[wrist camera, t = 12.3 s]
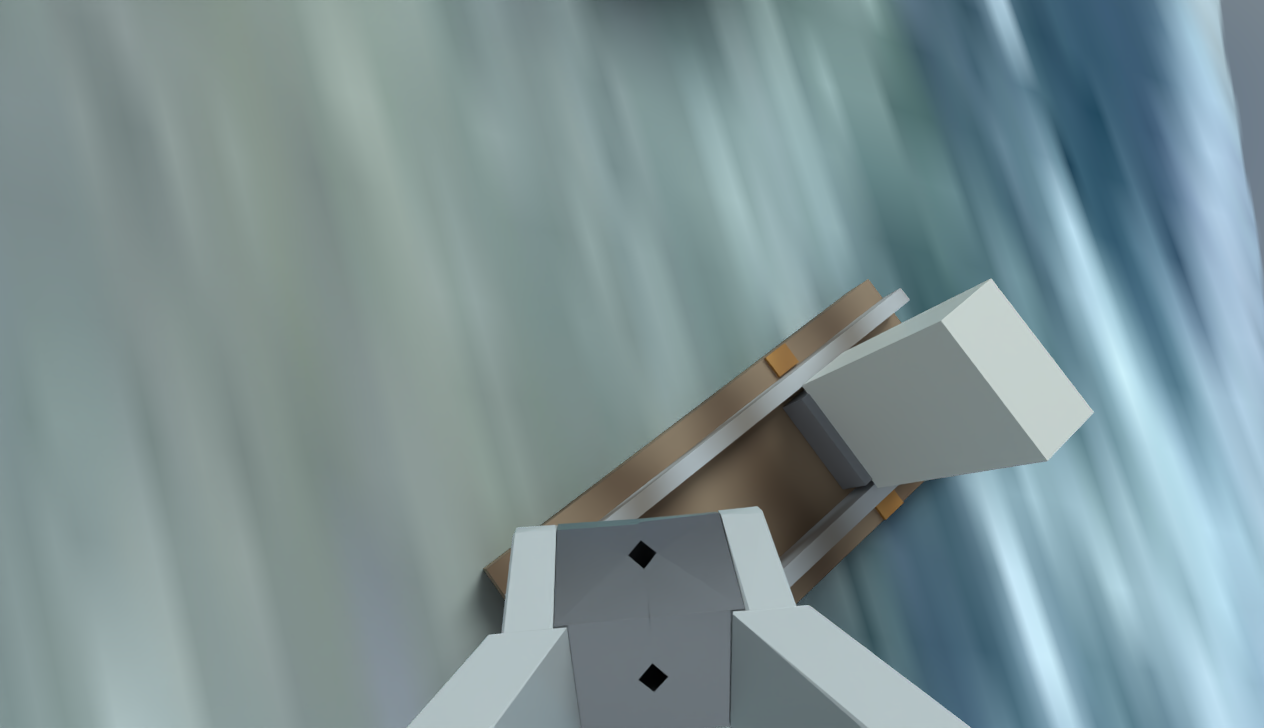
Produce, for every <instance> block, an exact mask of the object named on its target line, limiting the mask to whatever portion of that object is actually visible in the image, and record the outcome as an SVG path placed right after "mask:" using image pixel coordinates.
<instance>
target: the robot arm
mask: <svg viewBox="0 0 1264 728" xmlns="http://www.w3.org/2000/svg"><path fill="white" fill-rule="evenodd" d="M715 727H730V728H971V727H969V726H968V725H967V724H965V723H964V722H963V721H961V720H960V719H959V718H958V717H956V716H955V715H954V714H952V713H951V712H950V711H948V710H947V709H946V708H944V707H943V706H942V705H940V704H939V703H938V702H936V701H935V700H934V699H932V698H931V697H930V696H929V695H927V694H926V693H925V692H923V691H922V690H921V689H919V688H918V687H917V686H915V685H914V684H913V683H911V682H910V681H909V680H907V679H906V678H905V677H903V676H902V675H901V674H900V673H898V672H897V671H896V670H894V669H893V668H892V667H890V666H889V665H888V664H886V663H885V662H884V661H882V660H881V659H880V658H878V657H877V656H876V655H874V654H873V653H872V652H870V651H869V650H868V649H867V648H865V647H864V646H863V645H861V644H860V643H859V642H857V641H856V640H855V639H853V638H852V637H851V636H849V635H848V634H847V633H845V632H844V631H843V630H841V629H840V628H839V627H838V626H836V625H835V624H834V623H832V622H831V621H830V620H828V619H827V618H826V617H824V616H823V615H822V614H820V613H819V612H818V611H816V610H815V609H814V608H812V607H811V606H810V605H803V606H796V603H795V601H794V598H793V595H792V592H791V589H790V587H789V584H788V581H787V578H786V575H785V573H784V570H783V567H782V564H781V561H780V559H779V556H778V553H777V550H776V547H775V545H774V542H773V539H772V536H771V533H770V531H769V528H768V525H767V522H766V519H765V517H764V514H763V511H762V510H761V509H760V508H759V507H758V506H755V507H746V508H736V509H727V510H718V512H706V513H695V514H685V515H674V516H664V517H653V518H642V519H627V520H612V521H596V522H581V523H565V524H558V526H557V525H545V526H530V527H517V528H516V530H515V532H514V534H513V537H512V545H511V554H510V563H509V571H508V580H507V588H506V597H505V606H504V614H503V623H502V632H501V633H500V634H491V635H488V636H487V637H486V638H485V639H484V640H483V641H482V642H481V644H480V645H479V646H478V647H477V648H476V649H475V650H474V652H473V653H472V654H471V655H470V656H469V657H468V658H467V660H466V661H465V662H464V663H463V664H462V665H461V666H460V667H459V669H458V670H457V671H456V672H455V673H454V674H453V675H452V677H451V678H450V679H449V680H448V681H447V682H446V683H445V685H444V686H443V687H442V688H441V689H440V690H439V691H438V692H437V694H436V695H435V696H434V697H433V698H432V699H431V700H430V702H429V703H428V704H427V705H426V706H425V707H424V708H423V710H422V711H421V712H420V713H419V714H418V715H417V716H416V717H415V719H414V720H413V721H412V722H411V723H410V724H409V725H408V727H407V728H715Z"/></svg>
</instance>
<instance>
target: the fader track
mask: <svg viewBox="0 0 1264 728" xmlns="http://www.w3.org/2000/svg"><path fill="white" fill-rule="evenodd" d="M908 301H909V298H908V297H907V296H906V294H905V293H904V292H903V290H902V289H901V288H900V289H898V290H896V291H894V292H893V293H891V294H889V295H887V296H886V297H884V298H882V297H881V295H880V294H879V293H878V291H877V290H876V289H875V287H874V286H873V285H872V283H871V282H870V281H869V279H868V280H866V281H865V282H863V283H862V284H860V285H858V286H857V287H855V288H854V289H852V290H851V291H849V292H848V293H846V294H845V295H844V296H842V297H841V298H840V299H838V300H837V301H836V302H834V303H833V304H832V305H830V306H829V307H828V308H826V309H825V310H824V311H823V312H821V313H820V314H819V315H817V316H816V317H815V318H813V319H812V320H811V321H809V322H808V323H807V324H805V325H804V326H803V327H801V328H800V329H799V330H797V331H796V332H795V333H793V334H792V335H791V336H790V337H788V338H787V339H786V340H784V341H783V342H782V343H780V344H779V345H778V346H776V347H775V348H774V349H772V350H771V351H770V352H768V353H767V354H766V355H764V356H763V357H762V358H761V359H759V360H758V361H757V362H755V363H754V364H753V365H751V366H750V367H749V368H747V369H746V370H745V371H743V372H742V373H741V374H739V375H738V376H737V377H735V378H734V379H733V380H731V381H730V382H729V383H728V384H726V385H725V386H724V387H722V388H721V389H720V390H718V391H717V392H716V393H714V394H713V395H712V396H710V397H709V398H708V399H706V400H705V401H704V402H702V403H701V404H700V405H698V406H697V407H696V408H695V409H693V410H692V411H691V412H689V413H688V414H687V415H685V416H684V417H683V418H681V419H680V420H679V421H677V422H676V423H675V424H673V425H672V426H671V427H669V428H668V429H667V430H666V431H664V432H663V433H662V434H660V435H659V436H658V437H656V438H655V439H654V440H652V441H651V442H650V443H648V444H647V445H646V446H644V447H643V448H642V449H640V450H639V451H638V452H636V453H635V454H634V455H633V456H631V457H630V458H629V459H627V460H626V461H625V462H623V463H622V464H621V465H619V466H618V467H617V468H615V469H614V470H613V471H611V472H610V473H609V474H607V475H606V476H605V477H604V478H602V479H601V480H600V481H598V482H597V483H596V484H594V485H593V486H592V487H590V488H589V489H588V490H586V491H585V492H584V493H582V494H581V495H580V496H578V497H577V498H576V499H574V500H573V501H572V502H571V503H569V504H568V505H567V506H565V507H564V508H563V509H561V510H560V511H559V512H557V513H556V514H555V515H553V516H552V517H551V518H549V519H548V520H547V521H545V522H544V523H543V524H541V525H540V526H545V525H557V526H558V524H565V523H581V522H596V521H612V520H627V519H642V518H653V517H664V516H674V515H685V514H695V513H706V512H718V510H727V509H736V508H746V507H755V506H758V507H759V508H760V509H761V510H762V511H763V514H764V517H765V519H766V522H767V525H768V528H769V531H770V533H771V536H772V539H773V542H774V545H775V547H776V550H777V553H778V556H779V559H780V561H781V564H782V567H783V570H784V573H785V575H786V578H787V581H788V584H789V587H790V589H791V592H792V595H793V598H794V601H795V603H796V604H797V603H798V602H799V601H800V600H801V599H802V598H803V597H804V596H805V595H806V594H807V593H808V592H809V591H810V590H811V589H812V588H813V587H814V586H815V585H816V584H817V583H818V582H819V581H821V580H822V579H823V578H824V577H825V576H826V575H827V574H828V573H829V572H830V571H831V570H832V569H833V568H834V567H835V566H836V565H837V564H838V563H839V562H840V561H841V560H842V559H843V558H844V557H846V556H847V555H848V554H849V553H850V552H851V551H852V550H853V549H854V548H855V547H856V546H857V545H858V544H859V543H860V542H861V541H862V540H863V539H864V538H865V537H866V536H867V535H868V534H869V533H871V532H872V531H873V530H874V529H875V528H876V527H877V526H878V525H879V524H880V523H881V522H882V521H883V520H886V519H887V518H888V517H889V516H890V515H891V514H892V513H894V512H895V511H896V510H897V509H898V508H899V507H900V506H901V505H902V504H903V503H904V502H903V501H904V500H905V499H906V498H907V497H908V496H909V495H910V494H911V493H912V492H913V491H914V490H915V489H916V488H917V487H918V486H919V485H921V484H922V483H923V482H924V481H919V482H913V483H907V484H900V485H894V486H888V487H882V488H877V486H876V485H875V484H874V482H873V481H872V480H871V481H870V482H869V483H868V484H867V485H866V486H860V487H854V488H848V489H842V488H841V486H840V485H839V484H838V482H837V481H836V479H835V478H834V477H833V475H832V474H831V473H830V471H829V470H828V469H827V467H826V466H825V465H824V463H823V462H822V461H821V459H820V458H819V456H818V455H817V454H816V452H815V451H814V450H813V448H812V447H811V446H810V444H809V443H808V442H807V440H806V439H805V438H804V436H803V435H802V433H801V432H800V431H799V429H798V428H797V427H796V425H795V424H794V423H793V421H792V420H791V419H790V417H789V416H788V415H787V413H786V412H785V410H784V409H783V407H784V406H785V405H786V404H788V403H789V402H790V401H791V400H793V399H794V398H795V397H796V396H798V395H799V394H800V393H801V392H803V391H804V390H805V389H804V388H803V387H802V385H803V384H804V383H805V382H807V381H808V380H809V379H810V378H812V377H813V376H814V375H815V374H817V373H818V372H819V371H820V370H822V369H823V368H824V367H825V366H827V365H828V364H829V363H830V362H832V361H833V360H834V359H835V358H837V357H838V356H839V355H840V354H842V353H843V352H845V351H847V350H849V349H851V348H853V347H855V346H857V345H859V344H861V343H863V342H865V341H867V340H869V339H871V338H873V337H875V336H877V335H879V334H881V333H883V332H885V331H887V330H889V329H891V328H893V327H895V326H897V325H899V324H901V322H900V320H899V319H898V318H897V316H896V315H895V314H894V312H896V311H897V310H898V309H899V308H901V307H902V306H903V305H904V304H906V303H907V302H908ZM510 554H511V548H510V549H509V550H507V551H506V552H505V553H503V554H502V555H501V556H499V557H498V558H497V559H495V560H494V561H493V562H491V563H490V564H489V565H487V566H486V567H485V568H483V570H484V571H485V572H486V574H487V575H488V577H489V578H490V580H491V581H492V582H493V584H494V585H495V587H496V588H497V589H498V591H499V592H500V594H501V595H502V597H503V598H504V599H505V597H506V588H507V580H508V571H509V563H510Z"/></svg>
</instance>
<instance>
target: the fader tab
mask: <svg viewBox="0 0 1264 728" xmlns="http://www.w3.org/2000/svg"><path fill="white" fill-rule="evenodd" d="M802 387H803V388H804V389H805V390H804V391H803V392H801V393H800V394H799V395H798V396H796V397H795V398H794V399H793V400H791V401H790V402H789V403H788V404H786V405H785V406H784V407H783V409H784V410H785V412H786V413H787V415H788V416H789V417H790V419H791V420H792V421H793V423H794V424H795V425H796V427H797V428H798V429H799V431H800V432H801V433H802V435H803V436H804V438H805V439H806V440H807V442H808V443H809V444H810V446H811V447H812V448H813V450H814V451H815V452H816V454H817V455H818V456H819V458H820V459H821V461H822V462H823V463H824V465H825V466H826V467H827V469H828V470H829V471H830V473H831V474H832V475H833V477H834V478H835V479H836V481H837V482H838V484H839V485H840V486H841V488H842V489H848V488H854V487H860V486H866V485H867V484H868V483H869V482H870V481H871V480H872V481H873V482H874V484H875V485H876V486H877V488H882V487H888V486H894V485H900V484H907V483H913V482H919V481H925V480H932V479H938V478H944V477H950V476H957V475H963V474H969V473H976V472H982V471H988V470H994V469H1001V468H1007V467H1013V466H1019V465H1026V464H1032V463H1038V462H1044V461H1048V460H1049V459H1050V458H1051V457H1052V456H1053V455H1054V454H1055V453H1056V452H1057V451H1058V450H1059V448H1060V447H1061V446H1062V445H1063V444H1064V443H1065V442H1066V441H1067V440H1068V439H1069V438H1070V437H1071V436H1072V435H1073V434H1074V433H1075V432H1076V431H1077V430H1078V429H1079V427H1080V426H1081V425H1082V424H1083V423H1084V422H1085V421H1086V420H1087V419H1088V418H1089V417H1090V416H1091V415H1092V414H1093V413H1094V412H1093V410H1092V409H1091V408H1090V407H1089V405H1088V404H1087V403H1086V401H1085V400H1084V399H1083V397H1082V396H1081V395H1080V394H1079V392H1078V391H1077V390H1076V388H1075V387H1074V386H1073V384H1072V383H1071V382H1070V381H1069V379H1068V378H1067V377H1066V375H1065V374H1064V373H1063V371H1062V370H1061V369H1060V367H1059V366H1058V365H1057V364H1056V362H1055V361H1054V360H1053V358H1052V357H1051V356H1050V354H1049V353H1048V352H1047V351H1046V349H1045V348H1044V347H1043V345H1042V344H1041V343H1040V341H1039V340H1038V339H1037V338H1036V336H1035V335H1034V334H1033V332H1032V331H1031V330H1030V328H1029V327H1028V326H1027V324H1026V323H1025V322H1024V321H1023V319H1022V318H1021V317H1020V315H1019V314H1018V313H1017V311H1016V310H1015V309H1014V308H1013V306H1012V305H1011V304H1010V302H1009V301H1008V300H1007V298H1006V297H1005V296H1004V294H1003V293H1002V292H1001V291H1000V289H999V288H998V287H997V285H996V284H995V283H994V281H993V280H992V279H989V280H987V281H985V282H983V283H981V284H979V285H977V286H975V287H973V288H971V289H969V290H967V291H965V292H963V293H961V294H959V295H957V296H955V297H953V298H951V299H949V300H947V301H945V302H943V303H941V304H939V305H937V306H935V307H933V308H931V309H929V310H927V311H925V312H923V313H921V314H919V315H917V316H915V317H913V318H911V319H909V320H907V321H905V322H903V323H901V324H899V325H897V326H895V327H893V328H891V329H889V330H887V331H885V332H883V333H881V334H879V335H877V336H875V337H873V338H871V339H869V340H867V341H865V342H863V343H861V344H859V345H857V346H855V347H853V348H851V349H849V350H847V351H845V352H843V353H842V354H840V355H839V356H838V357H837V358H835V359H834V360H833V361H832V362H830V363H829V364H828V365H827V366H825V367H824V368H823V369H822V370H820V371H819V372H818V373H817V374H815V375H814V376H813V377H812V378H810V379H809V380H808V381H807V382H805V383H804V384H803V385H802Z"/></svg>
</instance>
